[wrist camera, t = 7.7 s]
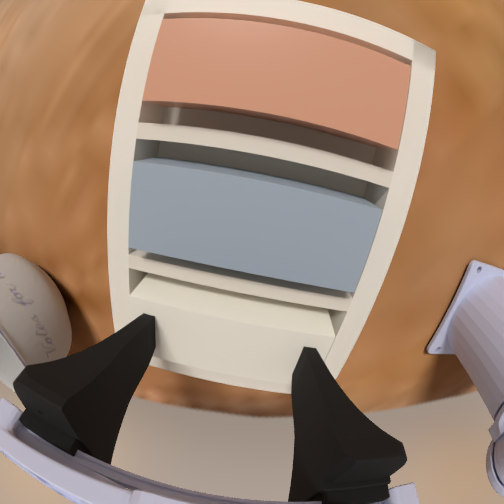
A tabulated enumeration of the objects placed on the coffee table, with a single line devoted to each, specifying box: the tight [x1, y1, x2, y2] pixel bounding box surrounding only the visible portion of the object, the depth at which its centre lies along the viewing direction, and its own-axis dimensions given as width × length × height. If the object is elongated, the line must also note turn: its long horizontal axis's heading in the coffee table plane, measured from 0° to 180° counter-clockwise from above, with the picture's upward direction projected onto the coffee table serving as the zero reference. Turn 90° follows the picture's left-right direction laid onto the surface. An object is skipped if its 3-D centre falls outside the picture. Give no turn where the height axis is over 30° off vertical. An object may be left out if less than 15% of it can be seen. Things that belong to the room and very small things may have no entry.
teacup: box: [0, 253, 72, 393], centre depth 14 cm, size 14×11×8 cm
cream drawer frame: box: [107, 0, 436, 394], centre depth 13 cm, size 13×20×4 cm, turn 169°
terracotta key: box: [142, 18, 411, 150], centre depth 9 cm, size 10×4×2 cm, turn 79°
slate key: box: [128, 157, 382, 293], centre depth 11 cm, size 10×4×2 cm, turn 79°
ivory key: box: [130, 273, 335, 384], centre depth 14 cm, size 10×4×2 cm, turn 79°
